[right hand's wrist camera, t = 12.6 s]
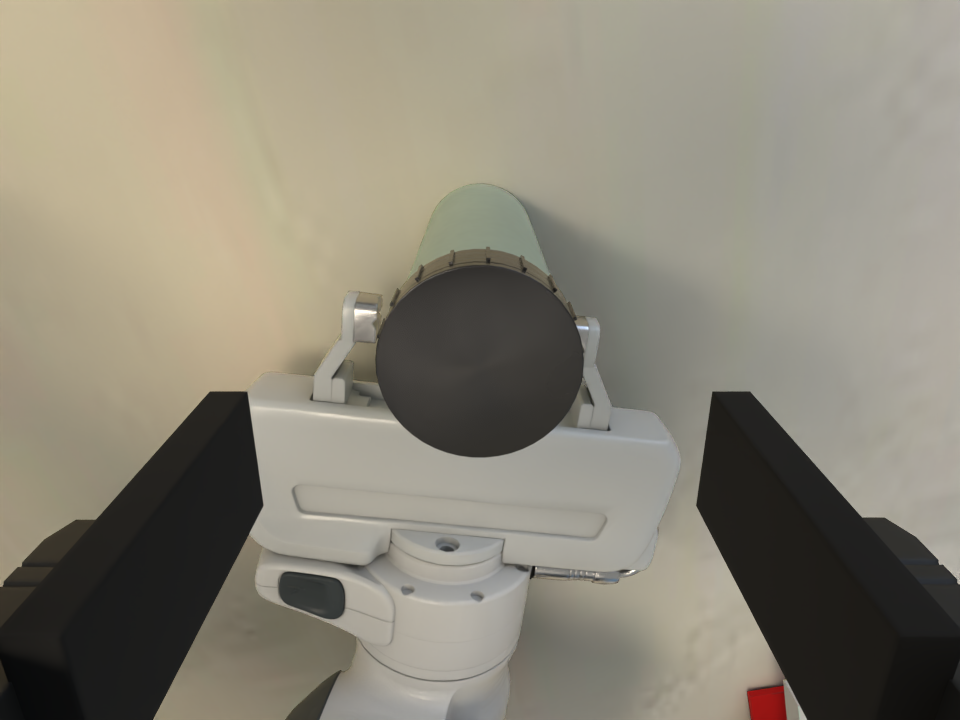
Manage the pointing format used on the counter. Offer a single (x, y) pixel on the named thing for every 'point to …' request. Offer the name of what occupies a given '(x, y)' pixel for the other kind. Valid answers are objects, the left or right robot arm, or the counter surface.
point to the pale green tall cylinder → (479, 226)
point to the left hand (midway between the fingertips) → (473, 307)
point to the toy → (774, 704)
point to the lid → (479, 354)
